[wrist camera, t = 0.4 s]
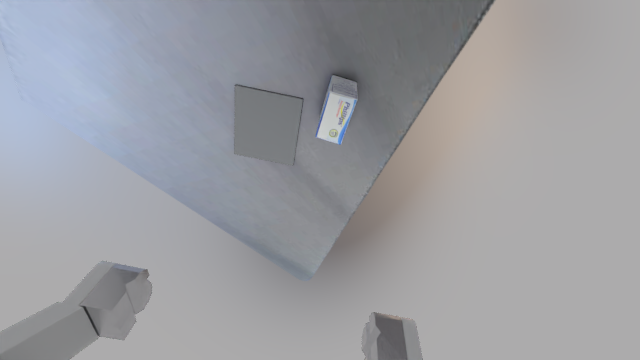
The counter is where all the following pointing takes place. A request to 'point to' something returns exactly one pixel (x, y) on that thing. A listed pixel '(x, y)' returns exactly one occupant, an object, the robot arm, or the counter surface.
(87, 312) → the robot arm
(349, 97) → the medicine box
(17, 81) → the counter surface
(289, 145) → the mat
